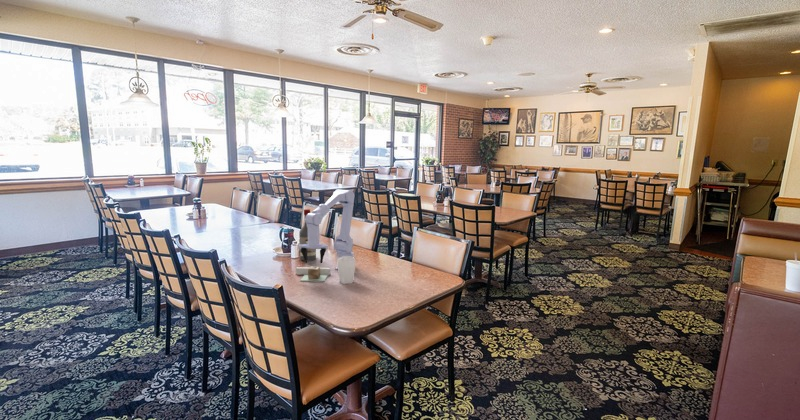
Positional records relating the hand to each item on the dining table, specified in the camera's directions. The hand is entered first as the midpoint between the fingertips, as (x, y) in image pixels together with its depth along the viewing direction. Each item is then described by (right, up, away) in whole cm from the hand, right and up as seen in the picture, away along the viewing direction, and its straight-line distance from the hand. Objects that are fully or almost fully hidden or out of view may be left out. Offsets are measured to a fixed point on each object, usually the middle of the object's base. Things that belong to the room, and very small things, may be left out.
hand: (313, 262), depth 192 cm
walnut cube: (0, -8, +1) cm, 8 cm away
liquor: (-12, -3, +36) cm, 38 cm away
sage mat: (0, -8, +1) cm, 8 cm away
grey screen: (-2, -7, +7) cm, 11 cm away
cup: (+17, -10, -3) cm, 20 cm away
